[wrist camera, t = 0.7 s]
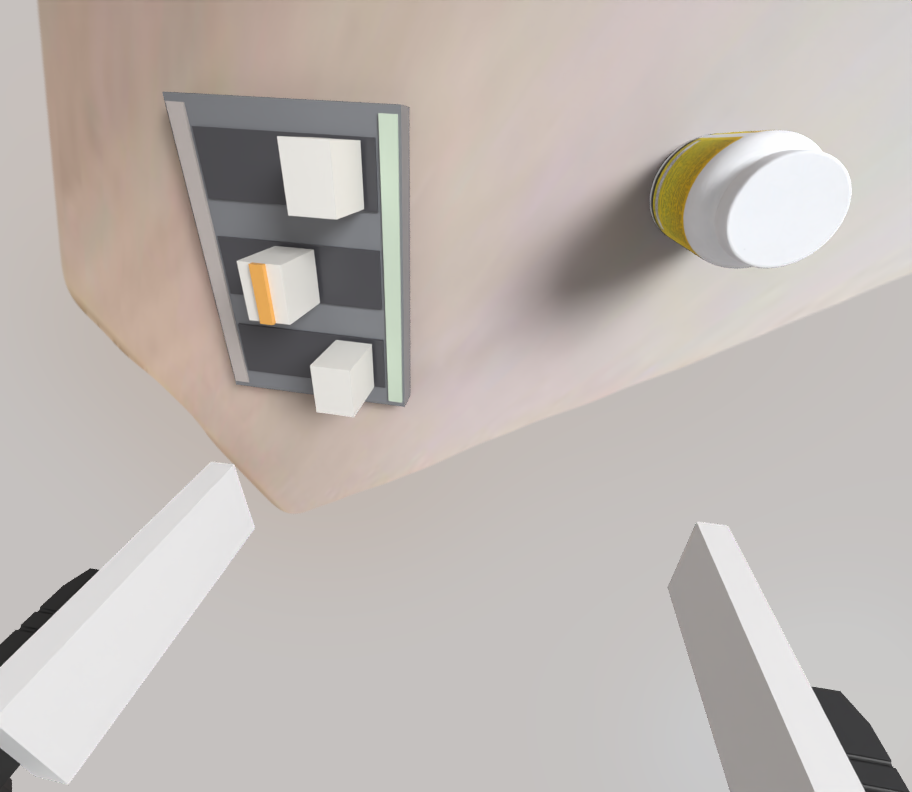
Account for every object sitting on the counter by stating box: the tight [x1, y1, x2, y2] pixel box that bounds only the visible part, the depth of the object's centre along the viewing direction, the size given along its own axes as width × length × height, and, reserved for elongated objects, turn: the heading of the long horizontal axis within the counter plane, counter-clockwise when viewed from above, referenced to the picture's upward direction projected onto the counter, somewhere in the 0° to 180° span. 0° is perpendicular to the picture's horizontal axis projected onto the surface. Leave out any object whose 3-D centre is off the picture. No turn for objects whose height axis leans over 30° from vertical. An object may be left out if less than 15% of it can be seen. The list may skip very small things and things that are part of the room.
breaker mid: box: [237, 246, 320, 325], centre depth 30 cm, size 4×3×5 cm
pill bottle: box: [650, 130, 852, 268], centre depth 22 cm, size 6×6×11 cm
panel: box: [163, 92, 410, 407], centre depth 33 cm, size 22×16×2 cm
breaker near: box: [277, 136, 364, 220], centre depth 26 cm, size 4×3×5 cm
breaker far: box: [310, 340, 374, 417], centre depth 33 cm, size 4×3×5 cm
